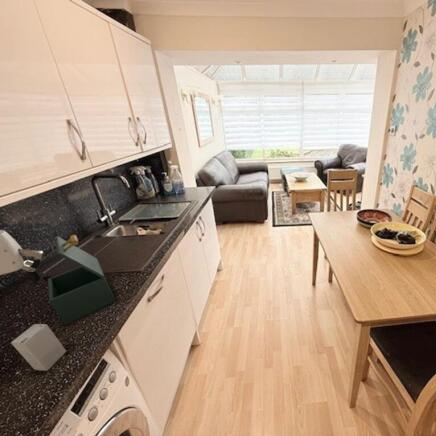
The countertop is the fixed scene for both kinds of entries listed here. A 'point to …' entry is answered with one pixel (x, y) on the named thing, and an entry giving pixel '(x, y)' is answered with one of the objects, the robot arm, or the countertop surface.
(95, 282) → the chest
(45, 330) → the cosmetic box
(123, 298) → the countertop surface
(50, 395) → the countertop surface
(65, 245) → the lid
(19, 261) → the robot arm
